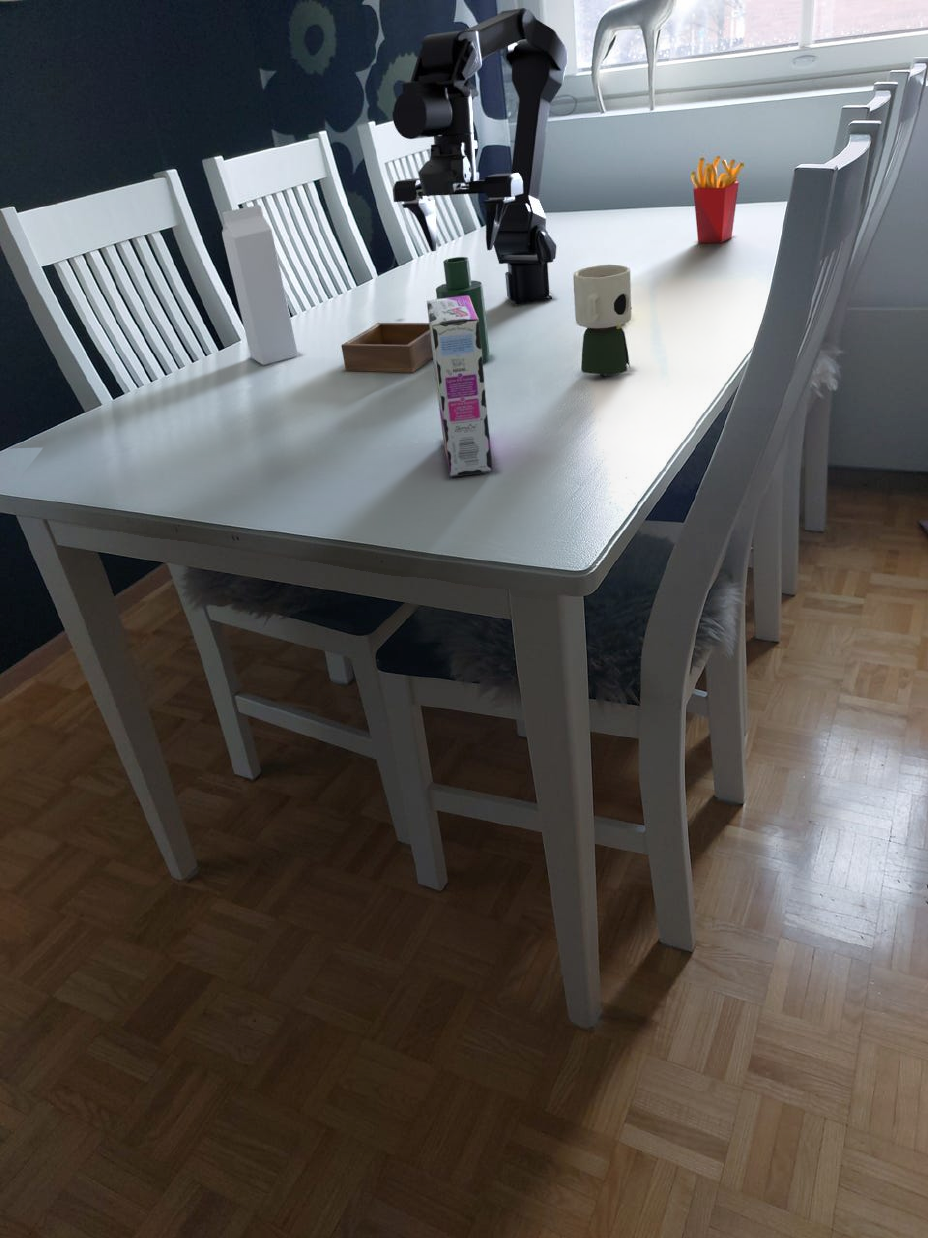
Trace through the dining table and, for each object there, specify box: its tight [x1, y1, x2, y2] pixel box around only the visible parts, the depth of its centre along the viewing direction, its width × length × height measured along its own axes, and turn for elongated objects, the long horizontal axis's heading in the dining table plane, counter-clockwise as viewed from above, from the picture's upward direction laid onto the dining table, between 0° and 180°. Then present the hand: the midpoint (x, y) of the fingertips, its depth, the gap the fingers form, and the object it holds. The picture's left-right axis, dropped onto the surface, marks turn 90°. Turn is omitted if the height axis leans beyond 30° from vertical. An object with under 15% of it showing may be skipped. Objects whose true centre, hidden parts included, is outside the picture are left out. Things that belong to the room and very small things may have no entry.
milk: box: [221, 204, 299, 366], centre depth 144 cm, size 6×6×22 cm
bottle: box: [435, 256, 491, 365], centre depth 132 cm, size 6×6×14 cm
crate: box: [340, 322, 433, 374], centre depth 140 cm, size 11×11×4 cm
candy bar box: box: [426, 296, 494, 478], centre depth 102 cm, size 11×5×16 cm, turn 5°
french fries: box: [690, 155, 745, 244], centre depth 179 cm, size 9×8×15 cm
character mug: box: [572, 264, 633, 378], centre depth 121 cm, size 11×7×13 cm, turn 156°
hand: (461, 250), depth 143 cm, fingers open, 9 cm apart
